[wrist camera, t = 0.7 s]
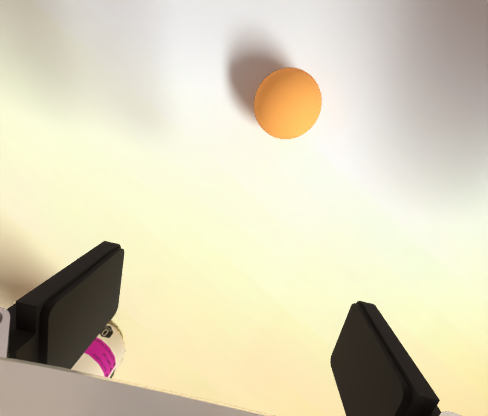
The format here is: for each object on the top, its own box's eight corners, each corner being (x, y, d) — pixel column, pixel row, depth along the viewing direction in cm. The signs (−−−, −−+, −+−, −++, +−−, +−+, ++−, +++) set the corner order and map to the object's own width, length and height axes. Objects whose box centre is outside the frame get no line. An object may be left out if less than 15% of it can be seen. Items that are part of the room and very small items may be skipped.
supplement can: (70, 309, 35) (-63, 430, 21) (130, 322, 35) (39, 452, 21) (69, 357, 38) (-51, 496, 23) (126, 369, 37) (41, 516, 23)
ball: (316, 75, 26) (332, 58, 20) (312, 138, 27) (325, 139, 22) (255, 76, 26) (253, 59, 20) (254, 138, 28) (252, 139, 22)
